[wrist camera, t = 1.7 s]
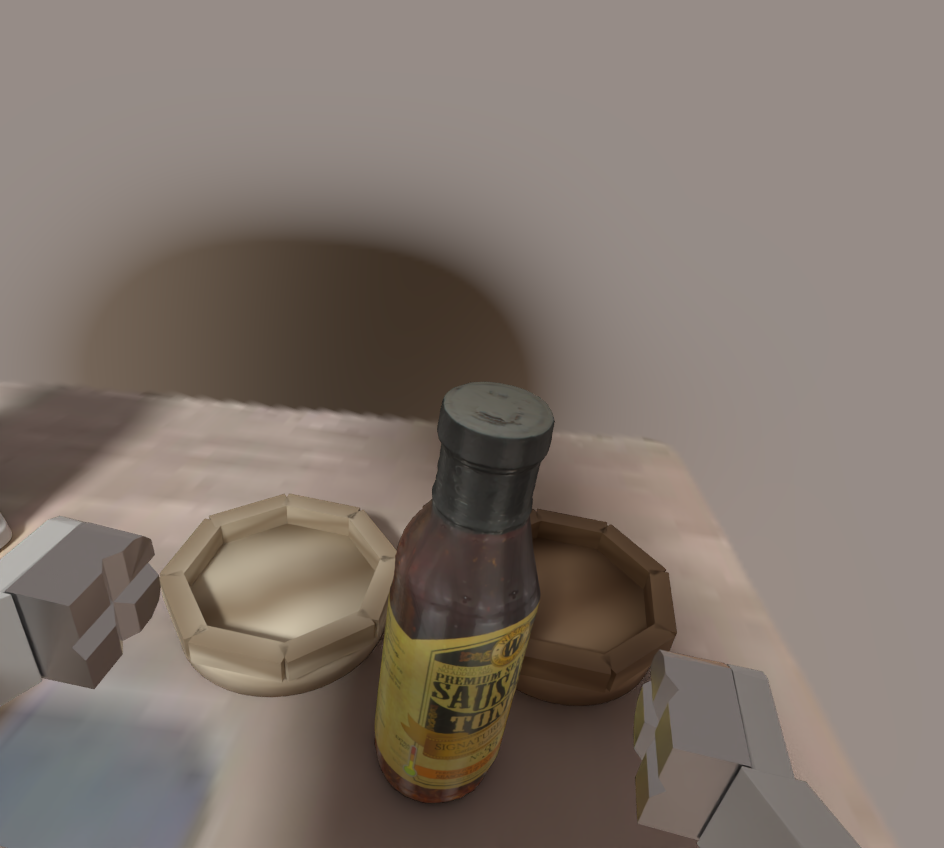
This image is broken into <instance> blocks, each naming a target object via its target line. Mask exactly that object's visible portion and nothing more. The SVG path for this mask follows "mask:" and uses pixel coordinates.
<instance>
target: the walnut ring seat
mask: <svg viewBox="0 0 944 848" xmlns="http://www.w3.org/2000/svg"><path fill="white" fill-rule="evenodd" d="M530 521H531V531H532V542H533V550H534V556H535V562H536V568H537V575H538V581H539V587H540V593H541V596H540V601H539V605H538V609H537V613H536V617H535V620H534V623H533V627H532V631H531V634H530V638H529V641H528V645H527V648H526V652H525V655H524V659H523V663H522V667H521V670H520V676H519V679H518V682H517V686H516V689H517V690H519V691H521V692H523V693H525V694H527V695H530V696H532V697H535V698H537V699H540V700H544V701H548V702H551V703H556V704H562V705H573V706H585V705H596V704H600V703H605V702H608V701H611V700H614V699H617V698H619V697H621V696H622V695H624V694H626V693H628V692H629V691H630V690H632V689H633V688H634V687H635V686H637V685H638V683H639V682H640V681H641V680H642V679H643V678H644V676H645V674H646V673H647V671H648V669H649V667H650V665H651V663H652V660H653V658H654V655H655V654H656V653H657V652H658V650H659V649H660V650H664V651H669V650H670V648H671V645H672V643H673V641H674V638H675V636H676V634H677V630H676V623H675V616H674V609H673V602H672V594H671V587H670V580H669V573H667V572H665V571H666V569H665V568H664V567H663V566H662V565H660V564H659V563H658V562H657V561H655V560H654V559H653V558H652V557H650V556H649V555H648V554H647V553H646V552H644V551H643V550H642V549H641V548H639V547H638V546H637V545H636V544H635V543H633V542H632V541H631V540H630V539H628V538H627V537H626V536H625V535H624V534H622V533H621V532H620V531H619V530H617V529H616V528H615V527H614V526H613V525H609V526H607V522H602V521H597V520H592V519H587V518H582V517H577V516H572V515H567V514H562V513H557V512H552V511H547V510H541V509H537V512H536V511H535V510H534V509H532V511H531V513H530Z"/></svg>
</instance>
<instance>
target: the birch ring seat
mask: <svg viewBox="0 0 944 848" xmlns="http://www.w3.org/2000/svg"><path fill="white" fill-rule="evenodd" d="M396 552H397V550H396V549H395V548H394V547H393V545H392V544H391V543H390V542H389V541H388V539H387V538H386V537H385V536H384V534H383V533H382V532H381V531H380V529H379V528H378V527H377V526H376V525H375V523H374V522H373V521H372V520H371V518H370V517H369V516H368V515H367V514H366V512H365V511H364V510H361V511H360V508H358V507H353V506H349V505H344V504H339V503H334V502H329V501H324V500H319V499H314V498H309V497H304V496H299V495H294V494H289V495H288V496H287V497H286V495H285V494H282V495H279V496H275V497H272V498H268V499H265V500H262V501H258V502H255V503H251V504H248V505H245V506H241V507H238V508H234V509H231V510H228V511H224V512H221V513H217V514H214V515H211V516H209V519H204V520H203V521H202V523H201V524H200V525H199V526H198V528H197V529H196V530H195V531H194V532H193V534H192V535H191V536H190V537H189V538H188V540H187V541H186V542H185V543H184V545H183V546H182V547H181V548H180V549H179V551H178V552H177V553H176V554H175V556H174V557H173V558H172V559H171V560H170V562H169V563H168V564H167V565H166V567H165V568H164V569H163V570H162V571H161V573H160V577H159V579H160V585H161V591H162V596H163V599H164V602H165V604H166V607H167V609H168V612H169V614H170V617H171V619H172V622H173V624H174V627H175V629H176V632H177V635H178V637H179V640H180V642H181V645H182V649H183V651H184V653H185V655H186V657H187V659H188V661H189V662H190V663H191V665H192V666H193V667H194V668H195V670H197V671H198V672H199V673H200V674H201V675H202V676H203V677H204V678H206V679H207V680H209V681H211V682H212V683H214V684H215V685H218V686H220V687H222V688H224V689H226V690H229V691H233V692H236V693H239V694H244V695H250V696H257V697H280V696H290V695H295V694H301V693H305V692H308V691H312V690H315V689H318V688H320V687H323V686H325V685H328V684H330V683H332V682H334V681H336V680H338V679H339V678H341V677H343V676H345V675H346V674H347V673H349V672H350V671H352V670H353V669H354V668H356V667H357V666H358V665H359V664H360V663H361V662H362V661H363V660H365V659H366V657H367V656H368V655H369V654H370V653H371V651H372V650H373V649H374V648H375V646H376V644H377V643H378V641H379V640H380V638H381V635H382V633H383V631H384V628H385V625H386V616H387V608H388V599H389V591H390V586H391V583H392V580H393V576H394V570H395V555H396Z"/></svg>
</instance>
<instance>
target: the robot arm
mask: <svg viewBox="0 0 944 848" xmlns="http://www.w3.org/2000/svg"><path fill="white" fill-rule="evenodd" d="M11 537H12V531H11V529H10V528H9V526H8V524H7V522H6V520H5V519H4V517H3V515H2V514H1V512H0V549H1V548H2V547H3V546H4V545H6V544H7V543H8V542H9V540H10V539H11ZM154 555H155V553H154V549H153V545H152V541H151V539H149V538H147V537H144V536H141V535H137V534H133V533H129V532H125V531H121V530H117V529H113V528H109V527H105V526H101V525H97V524H93V523H89V522H88V523H87V522H83V521H79V520H75V519H71V518H67V517H62V516H58V517H55V518H52V519H49V520H47V521H46V522H45V523H43V524H42V525H41V526H40V527H39V528H37V529H36V530H35V531H34V532H33V533H31V534H30V535H29V536H28V537H27V538H25V539H24V540H23V541H22V542H21V543H19V544H18V545H17V546H16V547H15V548H13V549H12V550H11V551H10V552H9V553H7V554H6V555H5V556H4V557H3V558H1V559H0V706H2V705H4V704H5V703H7V702H9V701H10V700H12V699H14V698H15V697H17V696H19V695H20V694H22V693H24V692H25V691H27V690H29V689H30V688H32V687H34V686H35V685H37V684H39V683H40V682H42V678H44V679H49V680H53V681H58V682H63V683H67V684H72V685H77V686H81V687H86V688H91V689H95V688H96V687H97V685H98V684H99V683H100V682H101V680H102V679H103V678H104V677H105V675H106V674H107V673H108V672H109V671H110V669H111V668H112V667H113V666H114V664H115V663H116V662H117V661H118V659H119V658H120V657H121V656H122V654H123V640H125V639H127V638H129V637H131V636H133V635H135V634H137V633H139V632H141V631H142V629H143V628H144V627H145V625H146V624H147V623H148V621H149V620H150V619H151V618H152V615H153V613H154V611H155V608H156V606H157V604H158V601H159V597H160V588H161V585H160V579H159V575H158V574H157V572H156V571H155V570H154V569H153V568H152V567H151V566H150V564H149V563H148V562H149V561H150V560H151V559H152V557H153V556H154ZM650 669H651V681H649V682H647V683H645V684H643V685H642V688H641V691H640V694H639V697H638V700H637V705H636V710H635V716H634V749H635V751H636V752H637V754H638V755H639V757H640V758H641V760H642V762H641V765H640V767H639V770H638V772H637V774H636V777H635V785H636V805H637V824H641V825H644V826H648V827H651V828H655V829H659V830H662V831H666V832H670V833H673V834H677V835H680V836H684V837H688V838H691V839H695V840H699V841H698V842H697V844H698V846H699V848H861V847H860V846H859V844H858V843H857V842H856V841H855V840H854V838H853V837H852V836H851V835H850V834H849V832H848V831H847V830H846V829H845V828H844V826H843V825H842V824H841V823H840V822H839V821H838V819H837V818H836V817H835V816H834V815H833V813H832V812H831V811H830V810H829V809H828V807H827V806H826V805H825V804H824V803H823V801H822V800H821V799H820V798H819V797H818V796H817V794H816V793H815V792H814V791H813V790H812V788H811V787H810V786H809V785H808V784H807V782H805V781H802V780H798V779H795V778H794V774H793V771H792V767H791V763H790V759H789V756H788V752H787V748H786V744H785V741H784V737H783V733H782V729H781V726H780V722H779V718H778V714H777V711H776V707H775V703H774V700H773V696H772V692H771V688H770V685H769V681H768V678H767V677H766V675H765V674H764V673H763V672H762V671H758V670H753V669H748V668H744V667H739V666H734V665H730V664H727V665H726V664H725V663H722V662H717V661H712V660H707V659H703V658H698V657H693V656H688V655H683V654H679V653H674V652H669V651H664V650H660V649H659V650H658V652H657V653H656V654H655V655H654V658H653V660H652V663H651V665H650ZM0 848H6V847H2V846H0Z"/></svg>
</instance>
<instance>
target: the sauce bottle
mask: <svg viewBox="0 0 944 848" xmlns="http://www.w3.org/2000/svg"><path fill="white" fill-rule="evenodd" d="M554 422H555V421H554V417H553V414H552V412H551V410H550V408H549V406H548V405H547V403H546V402H544V401H543V400H542V399H541V398H540V397H538V396H536V395H534V394H533V393H531V392H528V391H526V390H524V389H521V388H517V387H515V386H511V385H505V384H501V383H494V382H473V383H467V384H464V385H461V386H459V387H454V388H453V389H451V390H450V391H449V392H447V394H446V395H445V396H444V399H443V401H442V406H441V410H440V417H439V422H438V427H437V432H438V436H439V439H440V441H441V443H442V444H441V449H440V457H439V461H438V472H437V475H436V480H435V483H434V485H433V487H432V500H430V501H429V502H428V503H426V504H425V505H424V506H423V509H422V510H420V511H419V512H418V513H417V514H416V516H414V517H413V518H412V520H411V521H410V522H409V523H408V525H407V526H406V528H405V529H404V532H403V534H402V536H401V539H400V541H399V544H398V547H397V552H396V555H395V570H394V576H393V580H392V583H391V586H390V591H389V599H388V608H387V616H386V625H385V635H384V644H383V653H382V662H381V670H380V679H379V686H378V695H377V705H376V712H375V747H376V753H377V757H378V760H379V765H380V767H381V771H382V772H383V773H384V775H385V777H386V779H387V780H388V782H389V783H390V784H391V785H392V786H393V787H394V788H395V789H396V790H398V791H399V792H401V793H402V794H403V795H404V796H406V797H408V798H412V799H413V800H417V801H420V802H423V803H439V802H446V801H452V800H454V799H460V798H462V797H463V796H464V795H465V794H467V793H470V792H472V791H474V789H475V788H476V786H477V785H479V783H480V782H481V780H482V779H483V777H484V776H485V774H486V773H487V772H488V769H489V767H490V766H491V765H492V763H493V762H494V760H495V758H496V756H497V754H498V751H499V748H500V744H501V740H502V736H503V733H504V729H505V726H506V722H507V718H508V715H509V711H510V707H511V704H512V700H513V696H514V693H515V690H516V686H517V682H518V679H519V676H520V670H521V667H522V663H523V659H524V655H525V652H526V648H527V645H528V641H529V638H530V634H531V631H532V627H533V623H534V620H535V617H536V613H537V609H538V605H539V601H540V596H541V593H540V587H539V581H538V575H537V568H536V562H535V556H534V550H533V542H532V531H531V521H530V513H531V511H532V502H533V499H532V496H533V491H534V488H535V483H536V479H537V474H538V471H539V466H540V463H541V461H542V460H543V459H544V458H545V456H546V455H547V453H548V450H549V448H550V444H551V440H552V432H553V427H554Z"/></svg>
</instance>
